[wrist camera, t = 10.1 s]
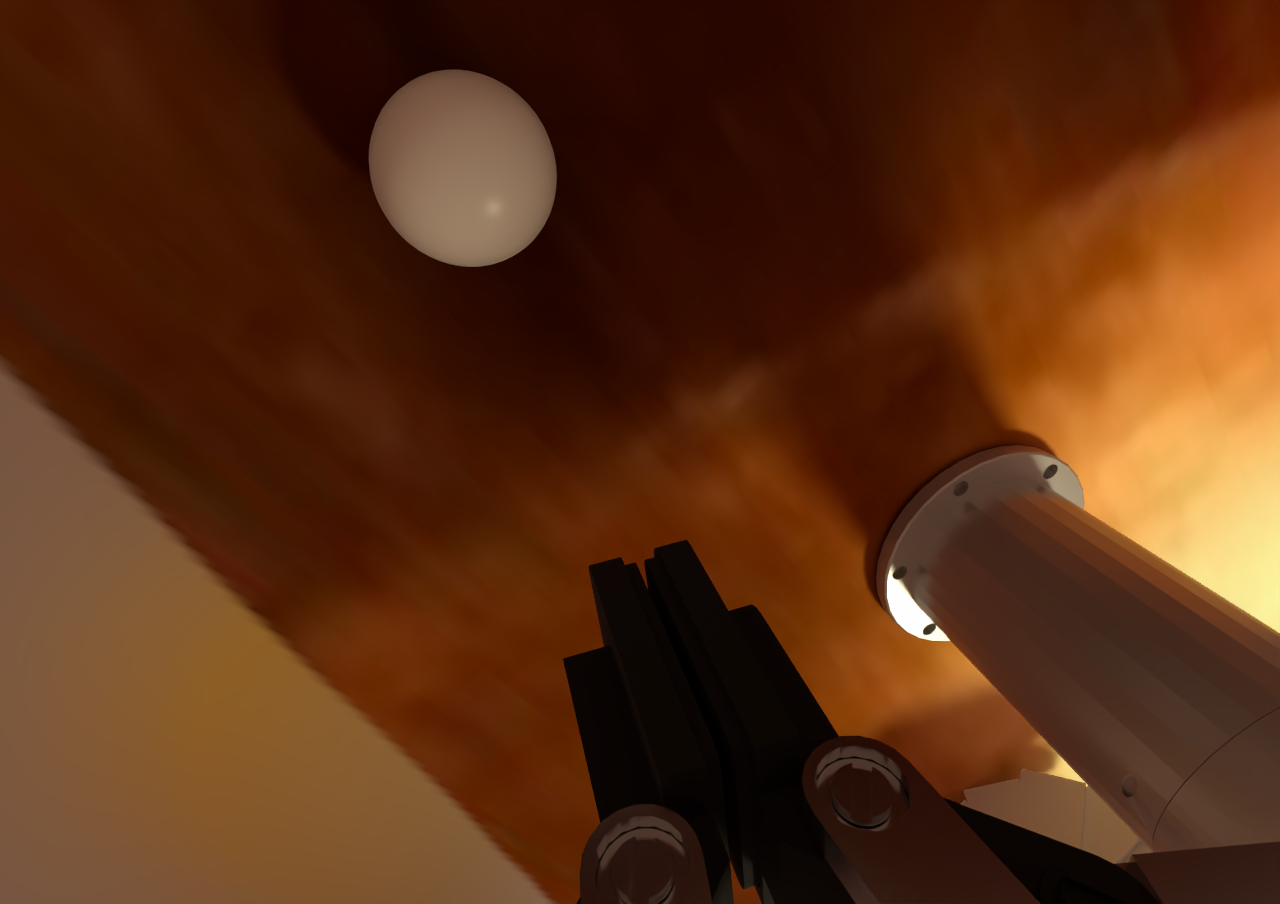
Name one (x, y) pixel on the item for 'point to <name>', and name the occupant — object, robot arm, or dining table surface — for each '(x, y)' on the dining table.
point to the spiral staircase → (1058, 813)
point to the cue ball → (462, 168)
